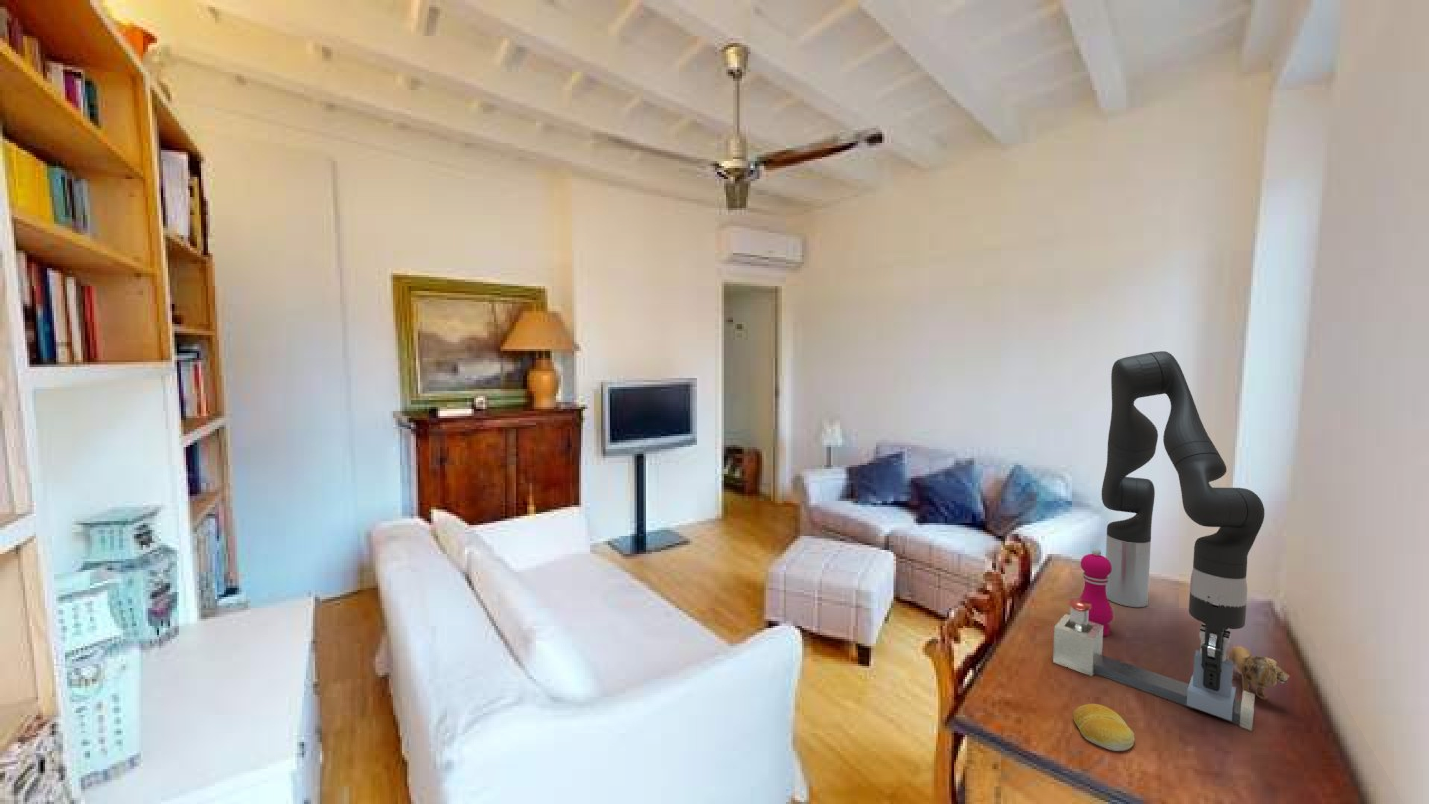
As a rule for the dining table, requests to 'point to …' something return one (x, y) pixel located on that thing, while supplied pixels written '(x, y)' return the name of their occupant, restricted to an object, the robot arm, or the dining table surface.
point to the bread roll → (1103, 727)
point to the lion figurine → (1256, 670)
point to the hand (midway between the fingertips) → (1211, 684)
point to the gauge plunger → (1079, 614)
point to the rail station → (1128, 669)
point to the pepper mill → (1097, 588)
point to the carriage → (1210, 699)
